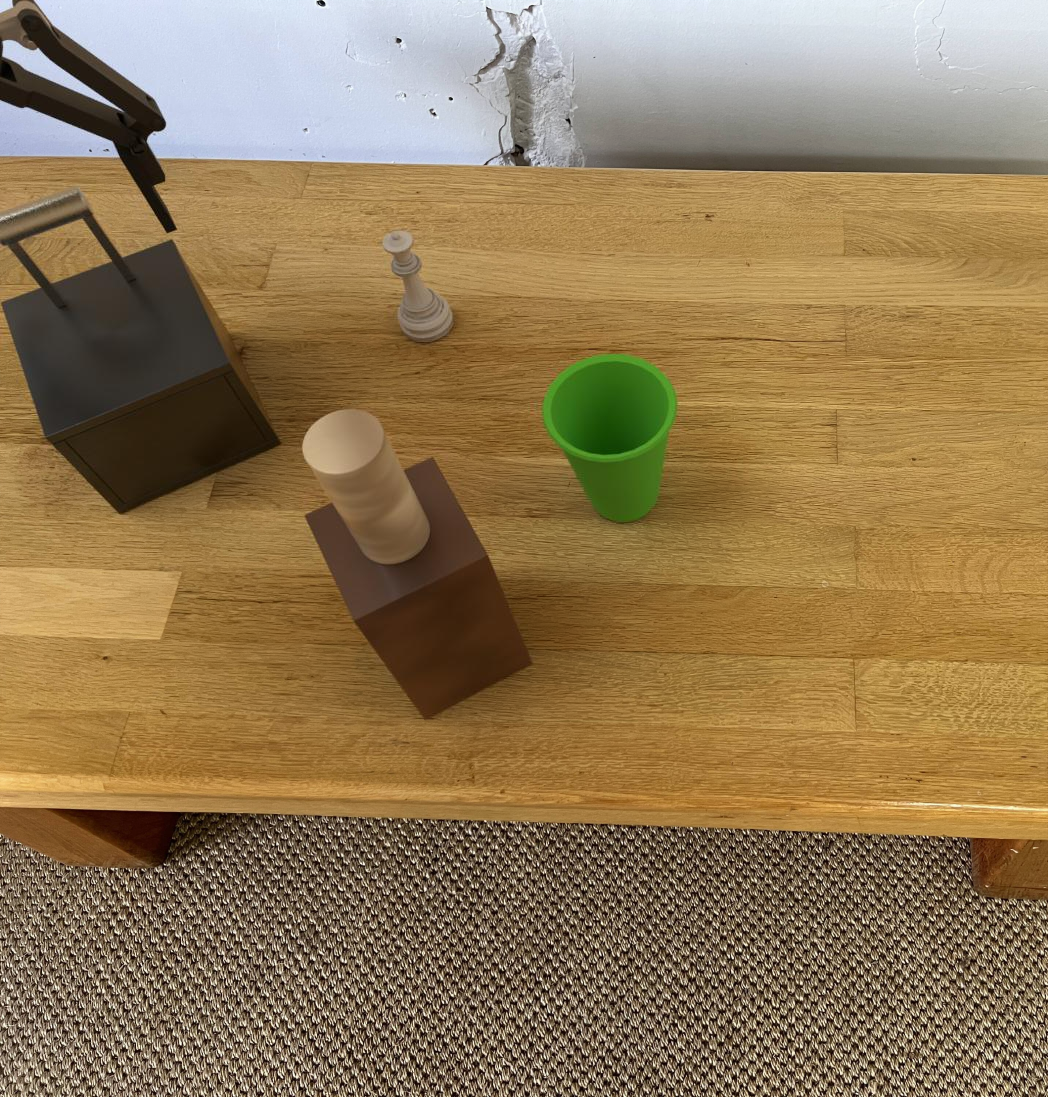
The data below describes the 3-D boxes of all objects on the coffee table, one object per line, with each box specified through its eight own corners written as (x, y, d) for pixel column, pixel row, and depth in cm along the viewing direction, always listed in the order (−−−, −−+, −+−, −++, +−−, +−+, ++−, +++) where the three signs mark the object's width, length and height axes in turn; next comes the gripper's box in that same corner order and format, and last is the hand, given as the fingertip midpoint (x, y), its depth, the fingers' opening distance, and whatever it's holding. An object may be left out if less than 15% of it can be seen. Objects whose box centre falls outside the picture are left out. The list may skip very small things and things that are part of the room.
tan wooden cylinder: (374, 576, 57) (318, 486, 49) (349, 524, 59) (290, 429, 51) (441, 544, 58) (396, 451, 50) (414, 494, 60) (366, 396, 52)
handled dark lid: (7, 310, 75) (-75, 216, 68) (177, 246, 79) (117, 150, 71) (51, 445, 69) (-33, 358, 62) (234, 370, 72) (176, 279, 65)
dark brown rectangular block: (425, 720, 68) (353, 621, 56) (380, 628, 72) (303, 514, 59) (533, 663, 71) (488, 554, 58) (485, 577, 74) (432, 456, 61)
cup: (672, 553, 75) (663, 468, 66) (552, 537, 76) (526, 450, 66) (693, 455, 80) (688, 361, 70) (580, 440, 80) (559, 345, 71)
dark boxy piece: (76, 393, 83) (9, 317, 75) (229, 332, 86) (180, 253, 78) (119, 514, 77) (52, 445, 69) (281, 444, 80) (234, 370, 73)
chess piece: (464, 316, 87) (434, 224, 78) (432, 350, 85) (398, 260, 76) (423, 297, 88) (389, 205, 79) (390, 331, 86) (352, 240, 77)
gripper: (70, -142, 59) (227, 163, 77) (-427, -10, 52) (-126, 289, 71) (103, -81, 56) (259, 222, 74) (-422, 68, 49) (-109, 360, 68)
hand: (71, 256), depth 72 cm, fingers open, 13 cm apart
